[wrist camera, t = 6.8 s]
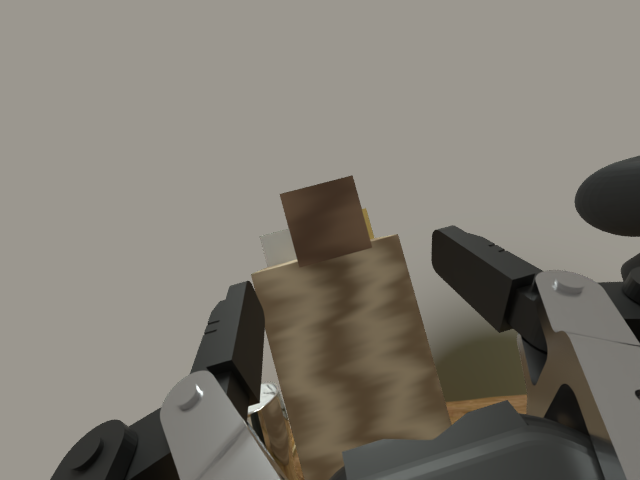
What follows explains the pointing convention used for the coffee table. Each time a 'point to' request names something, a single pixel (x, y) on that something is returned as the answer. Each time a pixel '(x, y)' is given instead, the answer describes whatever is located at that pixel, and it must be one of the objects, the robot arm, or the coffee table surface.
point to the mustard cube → (368, 223)
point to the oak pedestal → (350, 354)
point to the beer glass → (273, 427)
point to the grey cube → (278, 247)
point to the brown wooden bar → (325, 221)
